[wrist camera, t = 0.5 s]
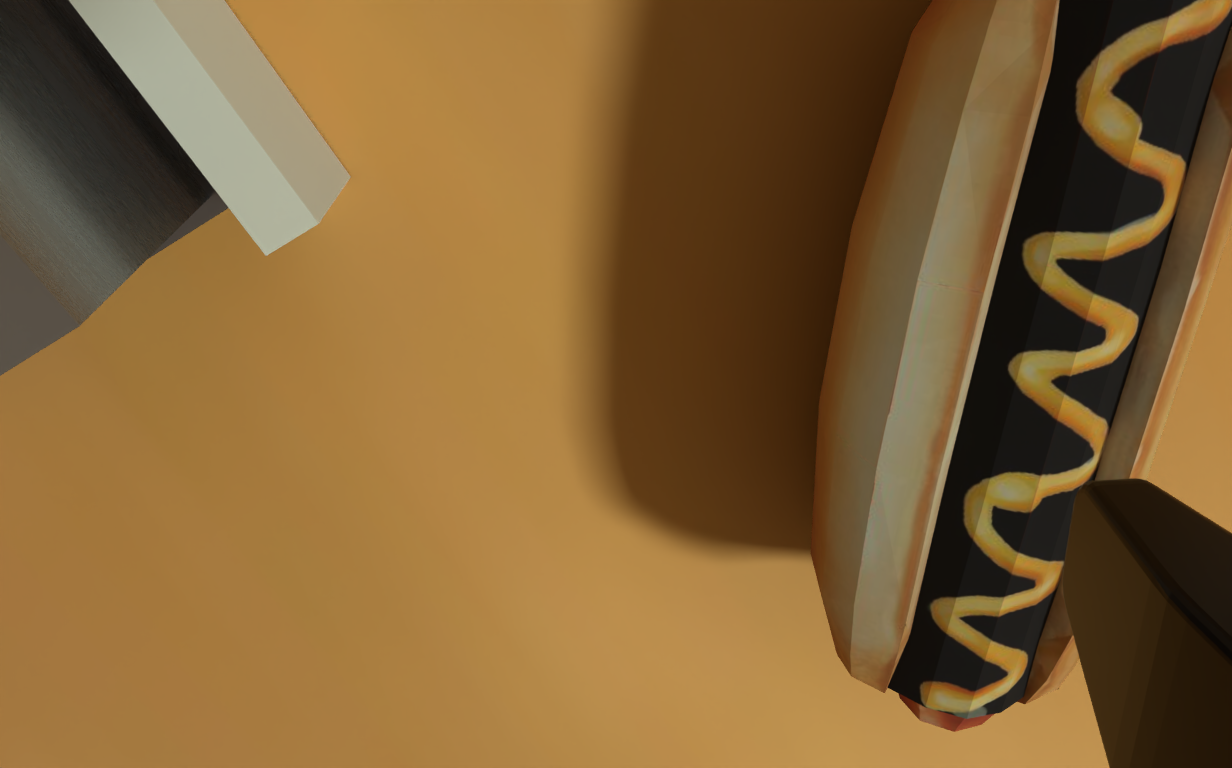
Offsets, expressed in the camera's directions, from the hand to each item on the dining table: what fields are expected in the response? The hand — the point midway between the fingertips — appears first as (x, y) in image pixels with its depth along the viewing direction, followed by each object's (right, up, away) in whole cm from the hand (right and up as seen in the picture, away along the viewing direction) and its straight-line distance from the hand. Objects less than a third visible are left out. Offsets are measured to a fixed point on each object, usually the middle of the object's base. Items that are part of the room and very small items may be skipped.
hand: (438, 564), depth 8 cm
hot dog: (+7, +3, +13) cm, 15 cm away
